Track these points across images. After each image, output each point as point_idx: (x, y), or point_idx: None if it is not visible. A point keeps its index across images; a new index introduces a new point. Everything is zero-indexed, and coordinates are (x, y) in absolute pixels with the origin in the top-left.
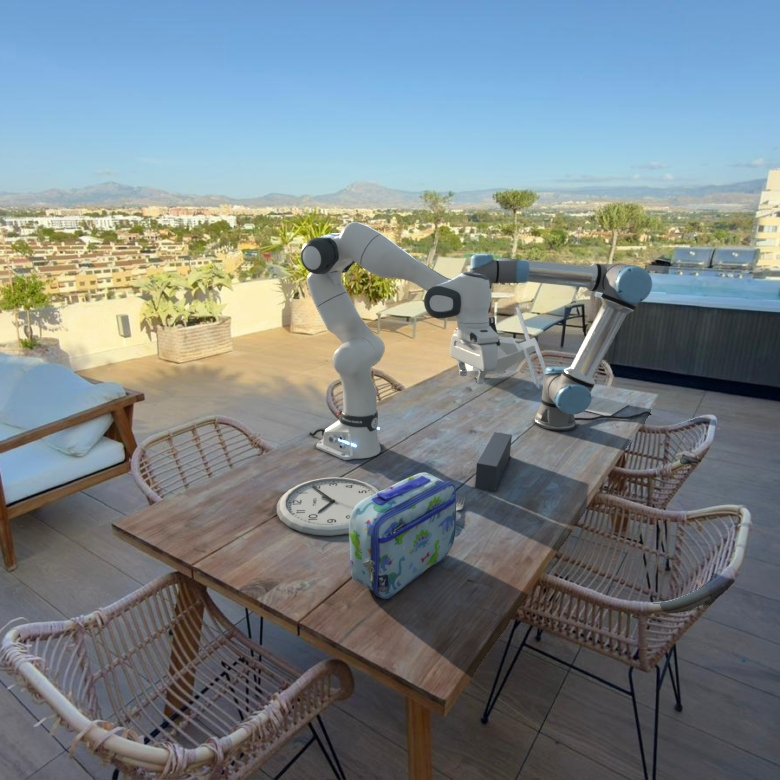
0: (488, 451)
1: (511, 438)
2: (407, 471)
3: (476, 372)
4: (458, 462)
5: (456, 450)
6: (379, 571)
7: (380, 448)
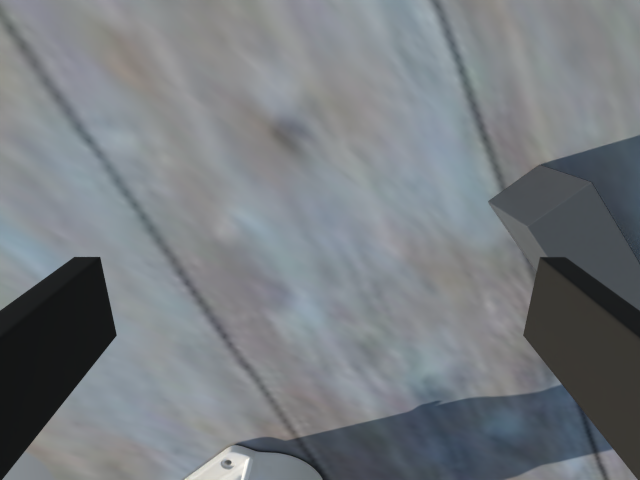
0: None
1: (582, 179)
2: (438, 454)
3: None
4: (471, 328)
5: (401, 287)
6: None
7: (296, 462)
